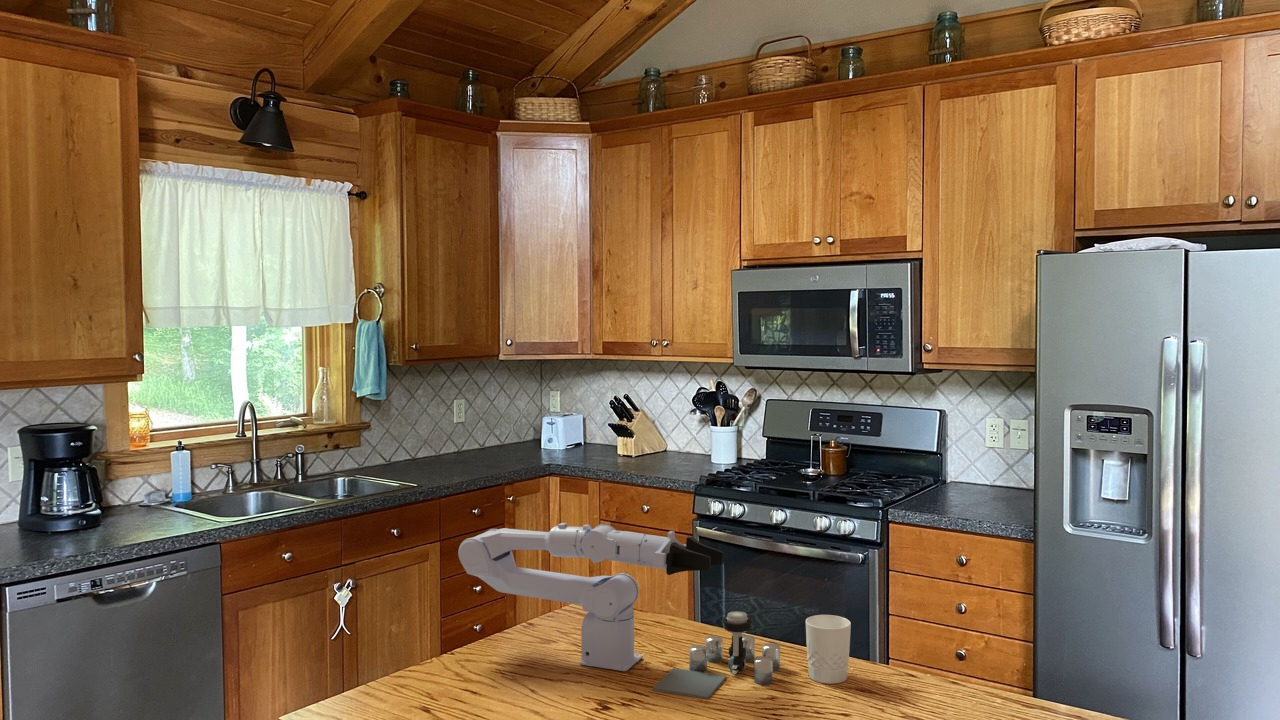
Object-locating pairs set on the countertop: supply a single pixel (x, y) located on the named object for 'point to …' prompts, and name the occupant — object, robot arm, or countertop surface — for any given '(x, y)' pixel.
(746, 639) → the cylinder
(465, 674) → the countertop surface
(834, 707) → the countertop surface
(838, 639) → the white cup
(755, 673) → the cylinder
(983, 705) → the countertop surface
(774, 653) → the spacer back right
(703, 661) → the cylinder
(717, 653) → the cylinder
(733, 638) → the push button
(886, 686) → the countertop surface
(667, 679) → the mat
